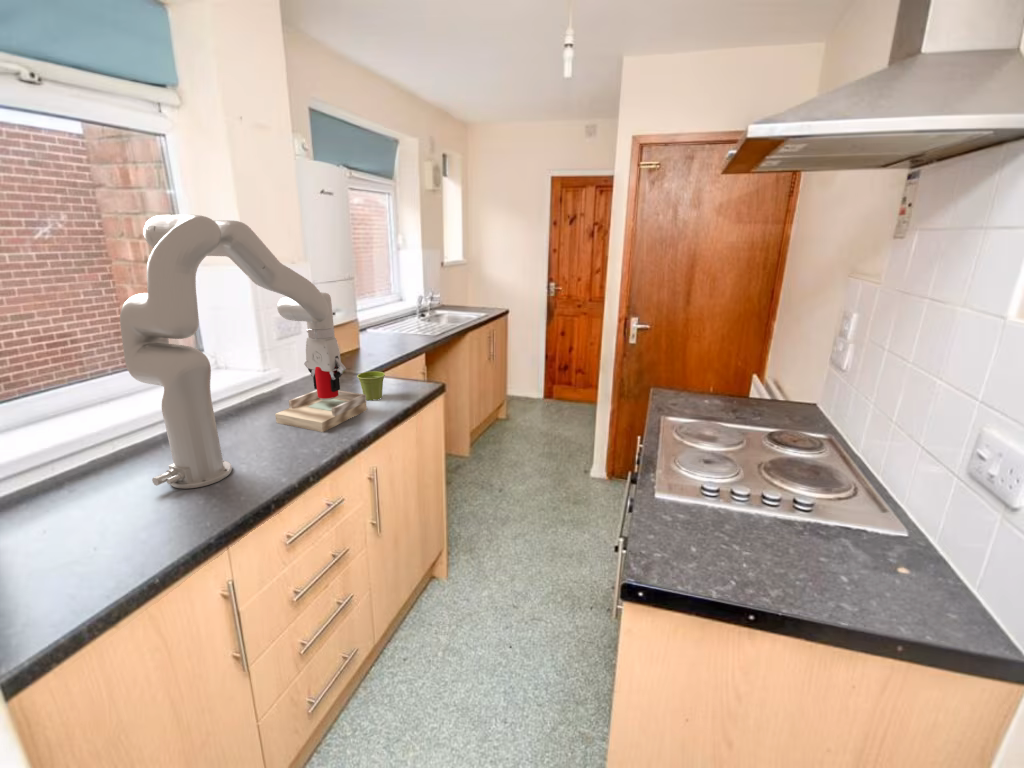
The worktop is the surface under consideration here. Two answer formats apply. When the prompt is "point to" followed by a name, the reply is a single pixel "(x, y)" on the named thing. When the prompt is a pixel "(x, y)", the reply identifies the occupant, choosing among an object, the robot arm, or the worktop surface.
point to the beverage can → (324, 385)
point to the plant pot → (372, 384)
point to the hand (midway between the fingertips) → (327, 388)
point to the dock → (321, 410)
